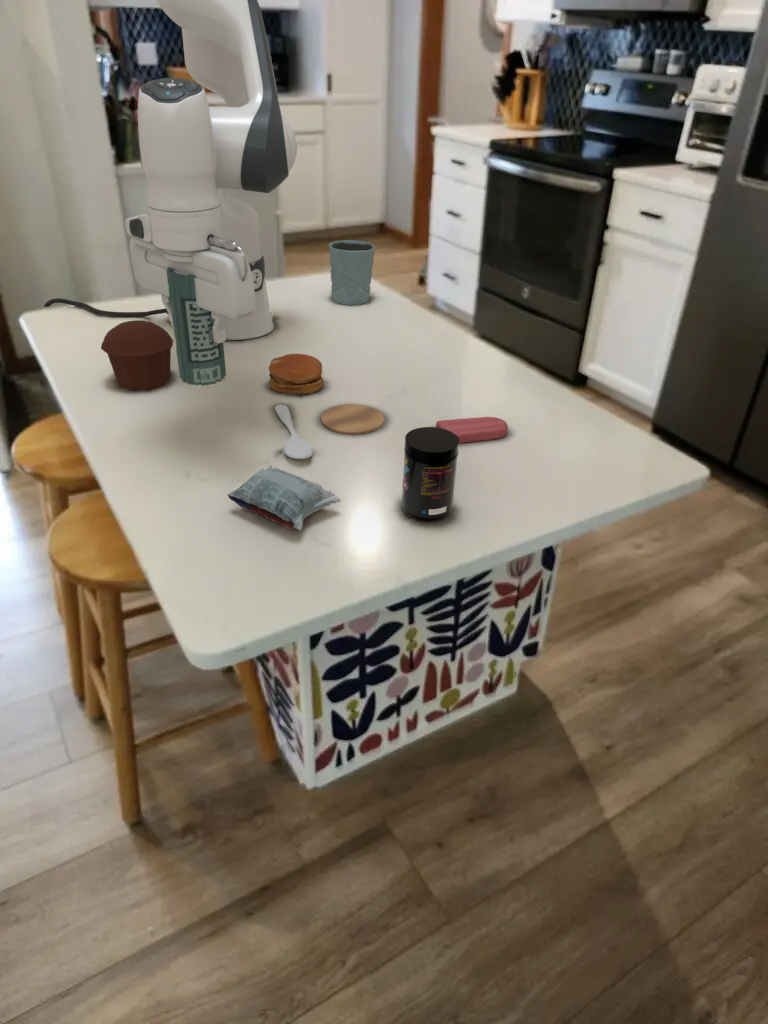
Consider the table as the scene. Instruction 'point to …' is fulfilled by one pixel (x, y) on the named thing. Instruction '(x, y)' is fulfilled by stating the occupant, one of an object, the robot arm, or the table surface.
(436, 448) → the supplement container
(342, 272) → the drinking glass
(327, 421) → the cork coaster
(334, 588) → the table surface
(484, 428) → the popsicle
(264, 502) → the packaged food
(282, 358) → the burger
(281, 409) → the spoon
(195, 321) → the can
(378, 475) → the table surface
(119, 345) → the muffin
